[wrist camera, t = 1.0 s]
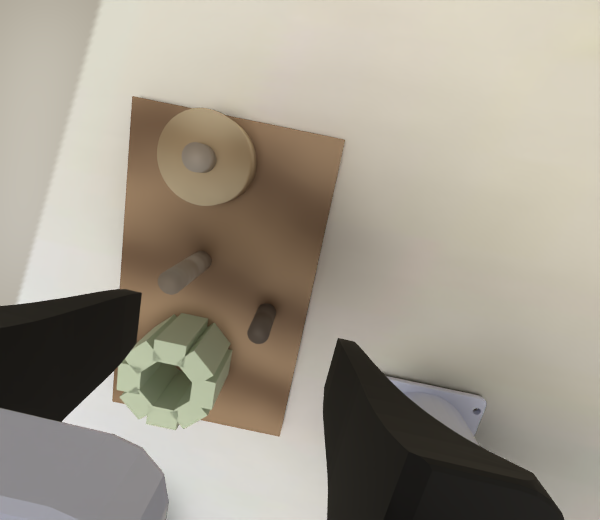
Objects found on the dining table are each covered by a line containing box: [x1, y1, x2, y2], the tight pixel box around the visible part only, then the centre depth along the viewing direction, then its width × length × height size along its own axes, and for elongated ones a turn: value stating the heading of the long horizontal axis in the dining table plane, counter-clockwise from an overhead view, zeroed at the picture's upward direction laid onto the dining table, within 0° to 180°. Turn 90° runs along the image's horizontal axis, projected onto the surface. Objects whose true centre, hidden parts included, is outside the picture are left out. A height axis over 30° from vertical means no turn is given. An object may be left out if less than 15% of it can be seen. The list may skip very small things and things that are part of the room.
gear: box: [117, 313, 232, 430], centre depth 20 cm, size 6×6×4 cm
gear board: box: [112, 96, 345, 437], centre depth 19 cm, size 20×12×5 cm, turn 169°
